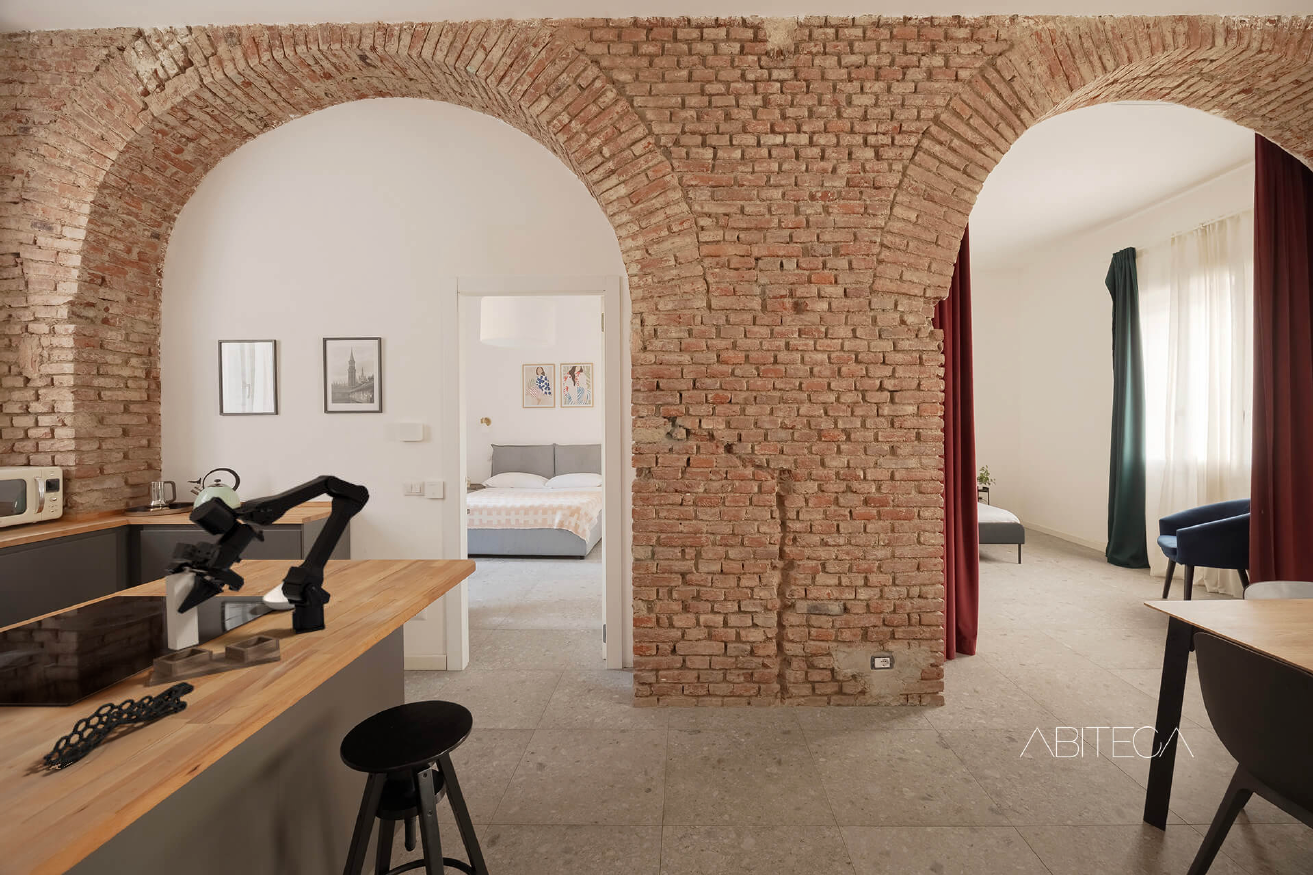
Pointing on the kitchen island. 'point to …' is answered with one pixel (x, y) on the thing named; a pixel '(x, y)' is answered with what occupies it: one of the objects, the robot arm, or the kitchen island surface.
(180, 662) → the double compartment tray
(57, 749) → the decorative element
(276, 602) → the spoon rest
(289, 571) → the robot arm
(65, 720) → the kitchen island surface
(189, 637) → the beige rectangular block
